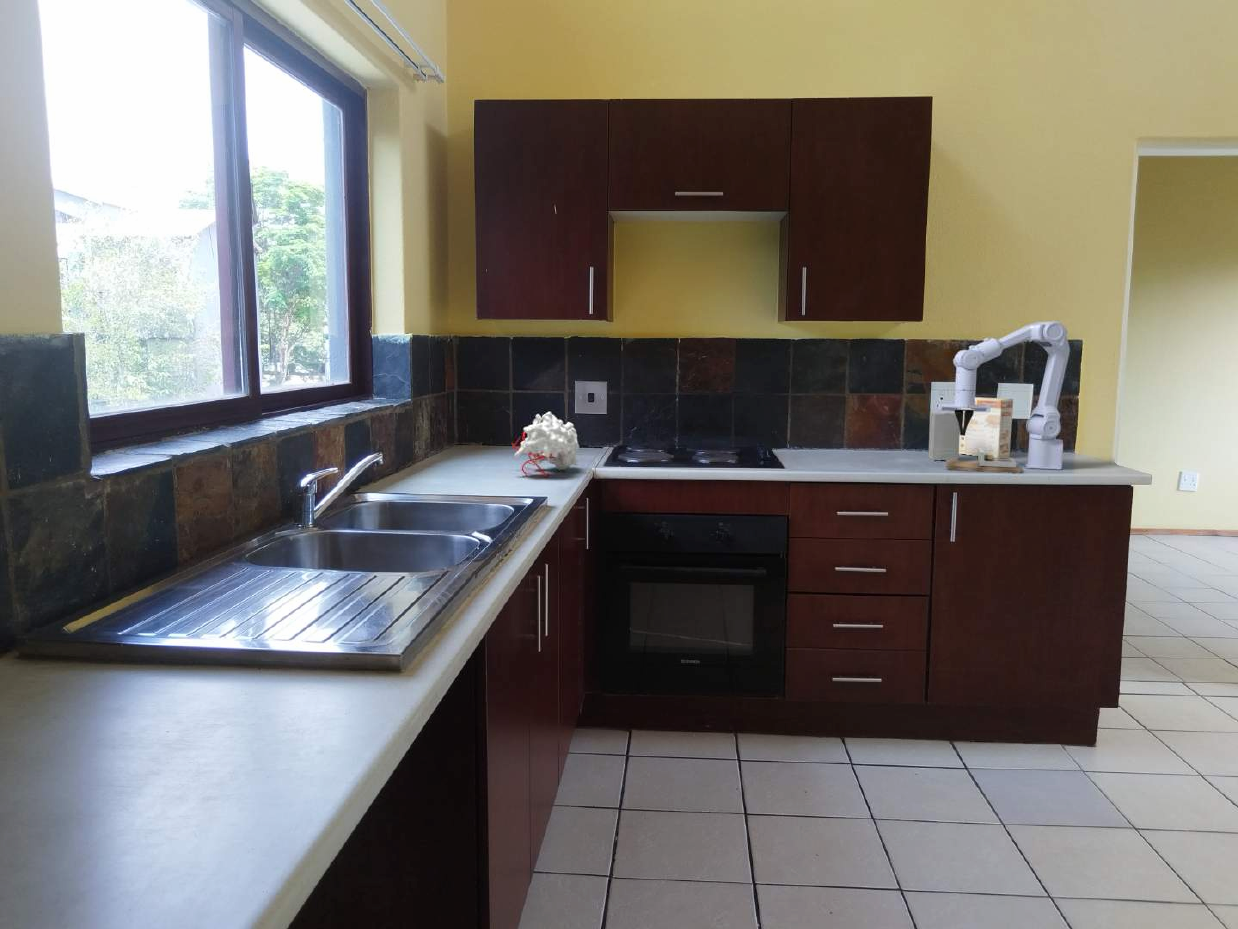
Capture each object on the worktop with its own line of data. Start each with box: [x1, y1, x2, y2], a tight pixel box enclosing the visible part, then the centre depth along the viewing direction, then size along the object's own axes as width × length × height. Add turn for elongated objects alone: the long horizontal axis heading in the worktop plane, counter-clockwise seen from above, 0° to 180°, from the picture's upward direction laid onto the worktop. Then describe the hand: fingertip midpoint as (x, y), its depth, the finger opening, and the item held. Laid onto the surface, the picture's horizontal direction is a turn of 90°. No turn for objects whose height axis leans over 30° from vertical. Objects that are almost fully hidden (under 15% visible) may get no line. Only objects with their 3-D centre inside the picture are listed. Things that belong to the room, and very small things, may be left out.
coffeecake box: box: [959, 396, 1014, 458], centre depth 302 cm, size 15×7×20 cm, turn 34°
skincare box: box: [928, 410, 960, 461], centre depth 291 cm, size 8×7×16 cm
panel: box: [977, 448, 1017, 468], centre depth 272 cm, size 10×11×4 cm
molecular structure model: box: [511, 411, 580, 478], centre depth 255 cm, size 20×18×25 cm
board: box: [945, 455, 1021, 474], centre depth 273 cm, size 20×14×4 cm
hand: (962, 435), depth 274 cm, fingers closed
